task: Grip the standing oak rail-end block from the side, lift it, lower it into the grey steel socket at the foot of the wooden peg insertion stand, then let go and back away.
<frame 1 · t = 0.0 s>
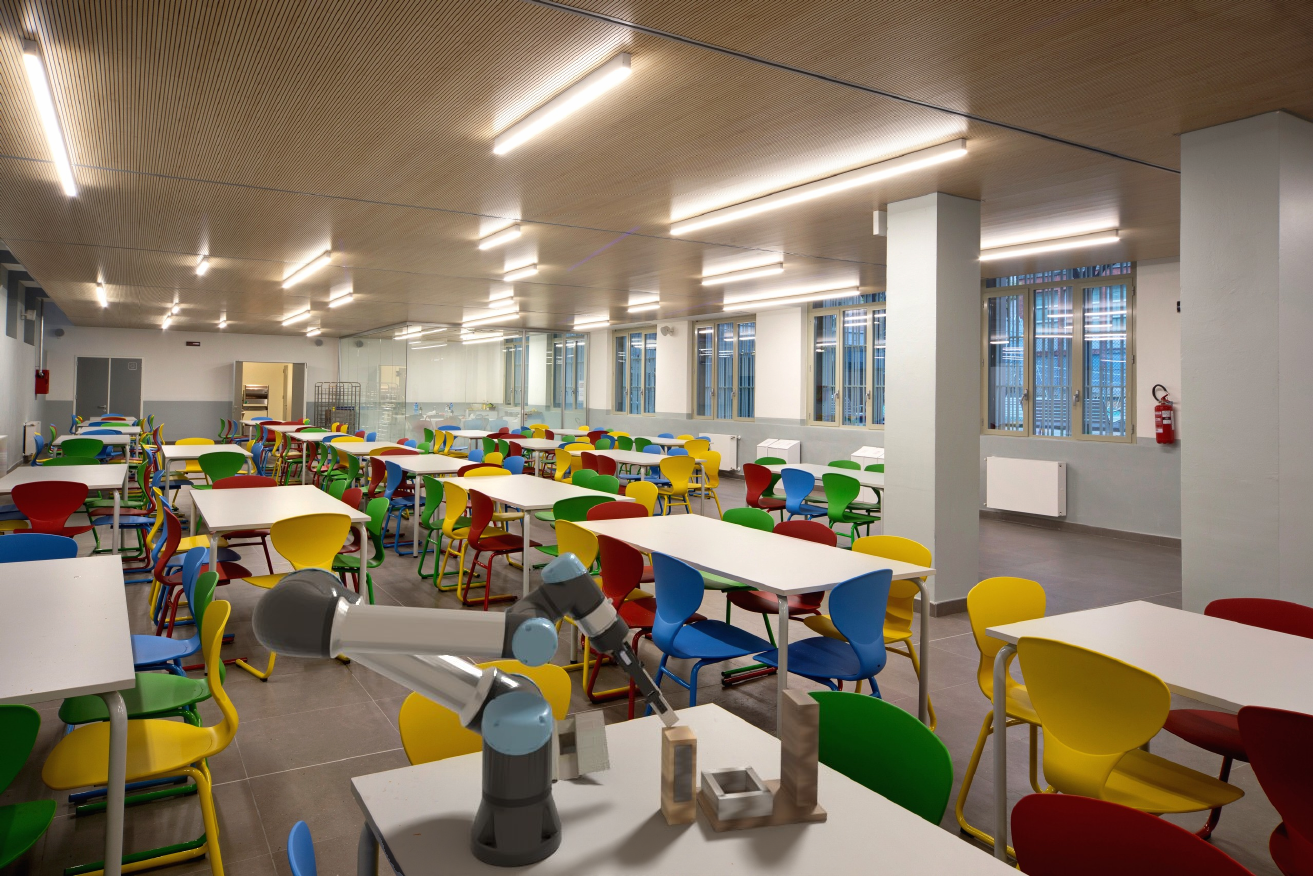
hand: (664, 710, 148), 15 cm above the table, tool tilted 35°, fingers open, 13 cm apart
wall: (569, 768, 156), on the table
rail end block: (677, 814, 138), on the table
wooden peg insertion stand: (735, 808, 140), on the table
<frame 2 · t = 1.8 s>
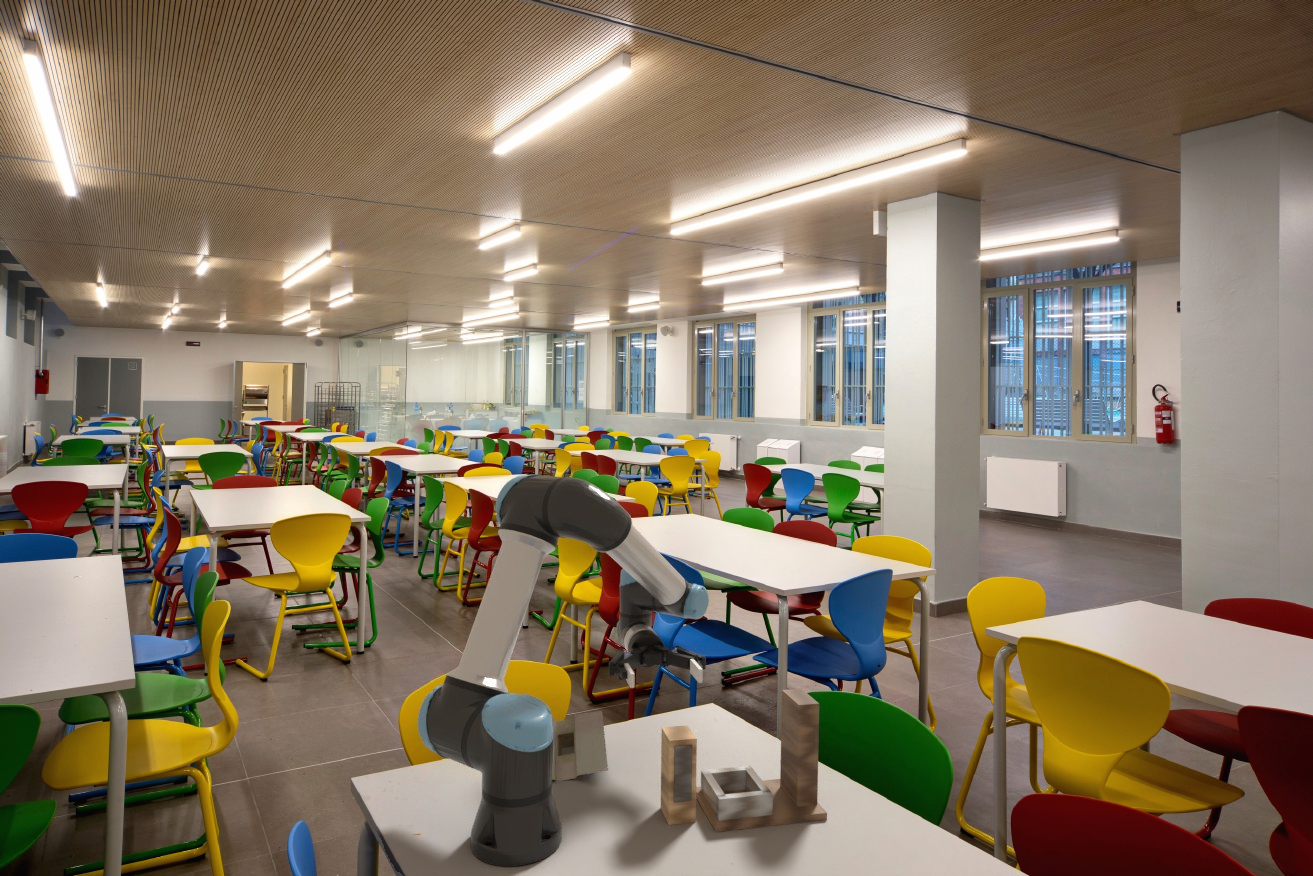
hand: (667, 678, 147), 22 cm above the table, tool horizontal, fingers open, 13 cm apart
nothing on the table moved.
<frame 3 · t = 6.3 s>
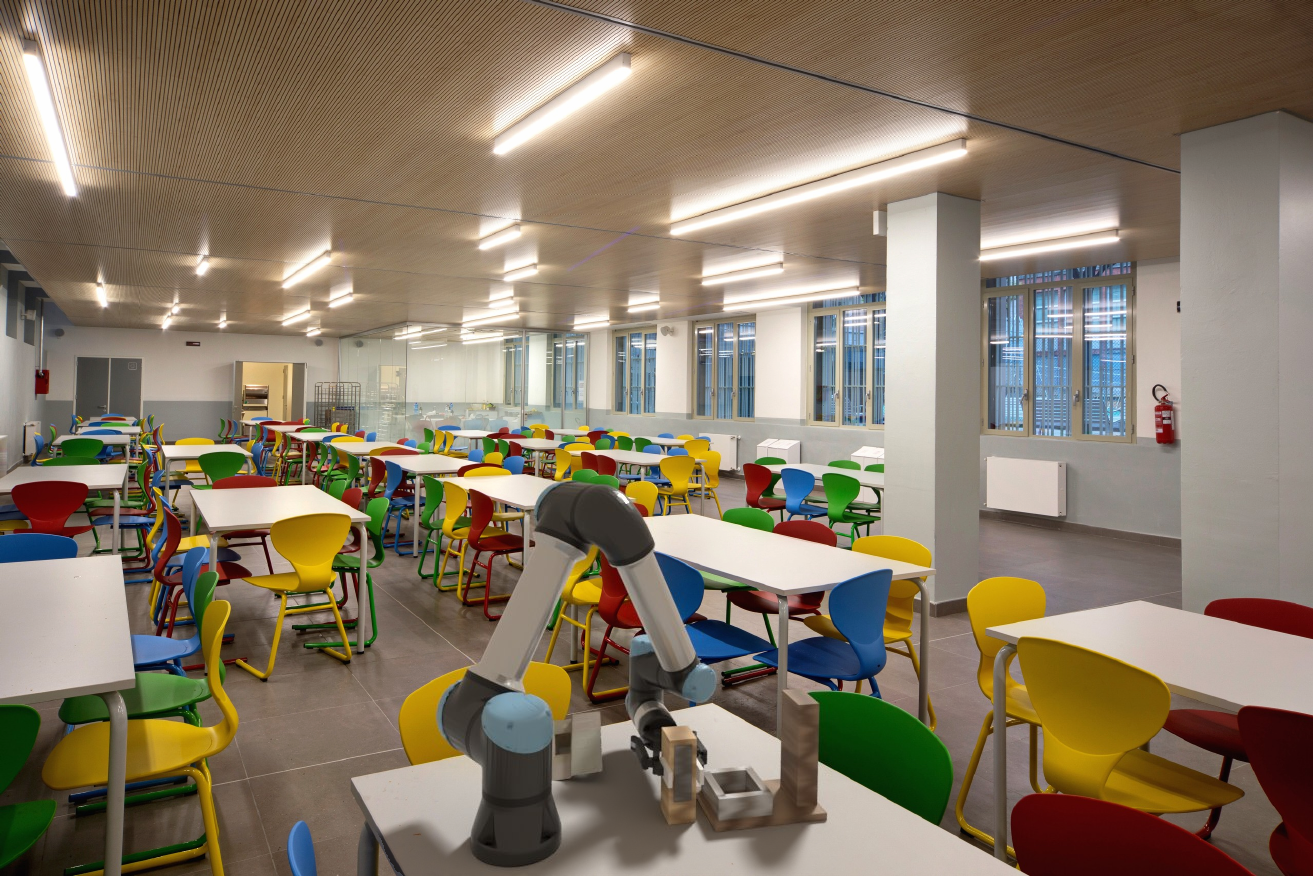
hand: (686, 778, 133), 9 cm above the table, tool horizontal, fingers closed on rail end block, 5 cm apart
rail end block: (677, 814, 138), on the table, touching gripper
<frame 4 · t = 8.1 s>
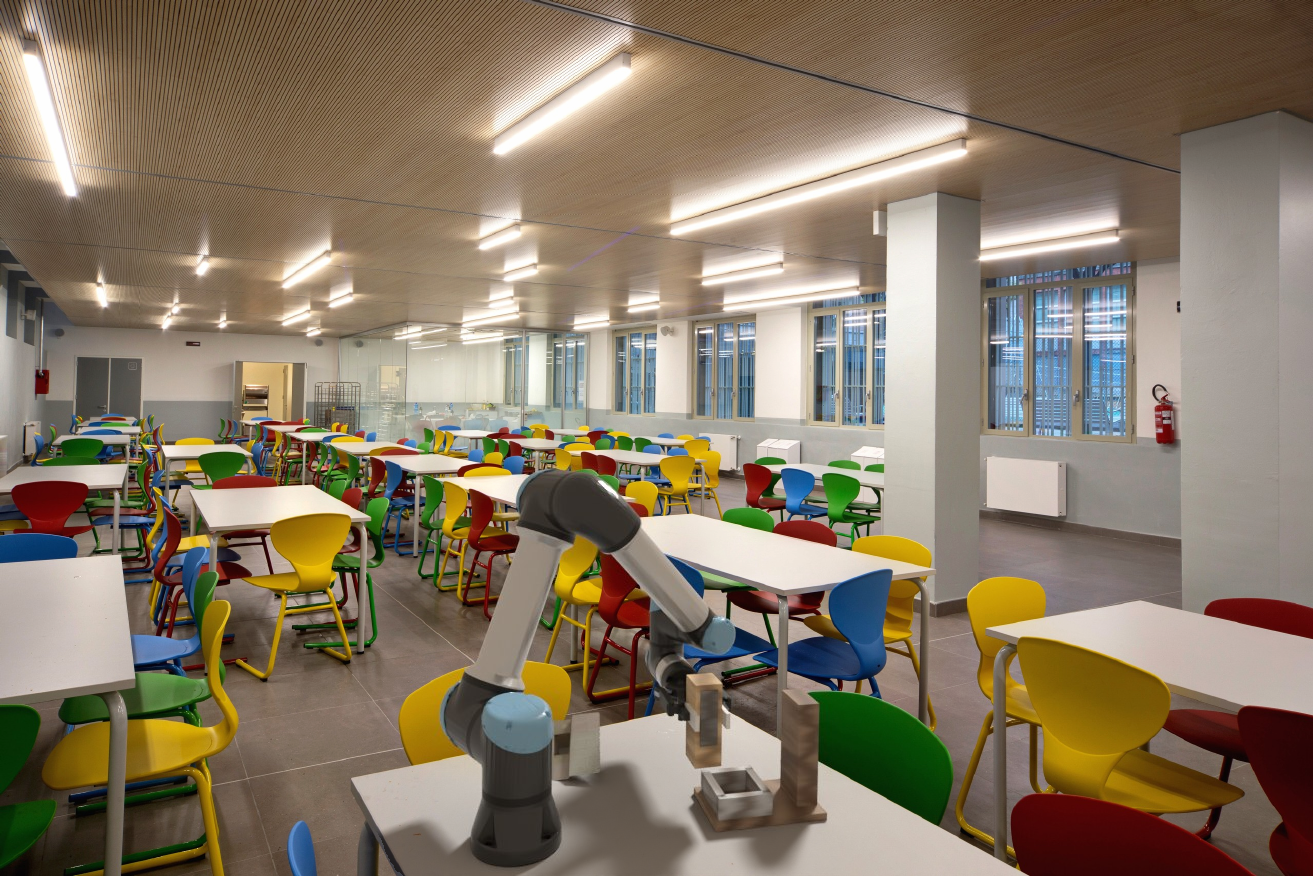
hand: (712, 722, 134), 18 cm above the table, tool horizontal, fingers closed on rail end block, 5 cm apart
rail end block: (703, 760, 139), point 9 cm above the table, touching gripper
when the fingers open (12 cm above the table, at t = 10.3 s): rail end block drops 1 cm, resting on wooden peg insertion stand.
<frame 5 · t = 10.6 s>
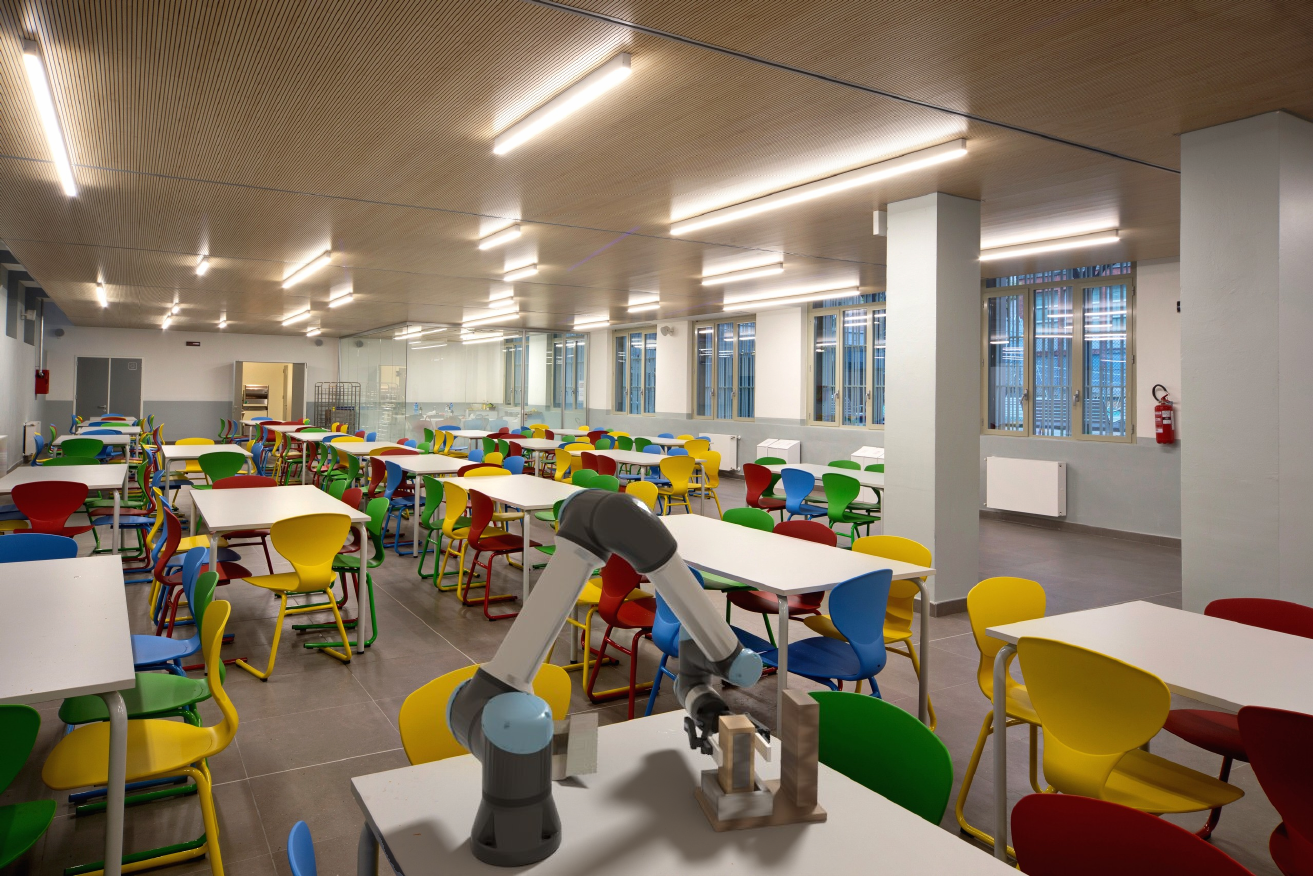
hand: (744, 756, 136), 12 cm above the table, tool horizontal, fingers open, 8 cm apart
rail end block: (735, 802, 140), point 1 cm above the table, touching wooden peg insertion stand
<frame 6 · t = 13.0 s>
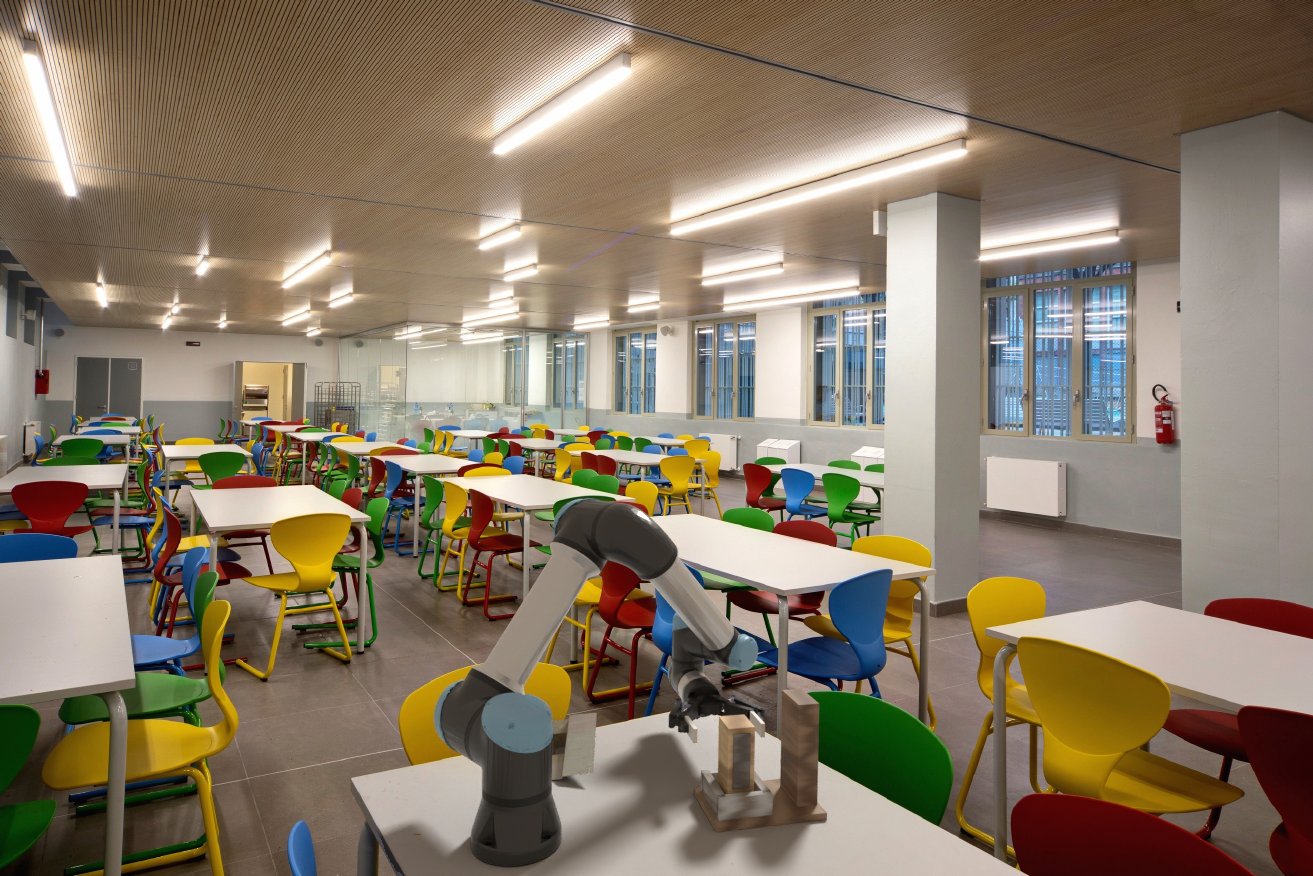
hand: (729, 733, 145), 12 cm above the table, tool horizontal, fingers open, 13 cm apart
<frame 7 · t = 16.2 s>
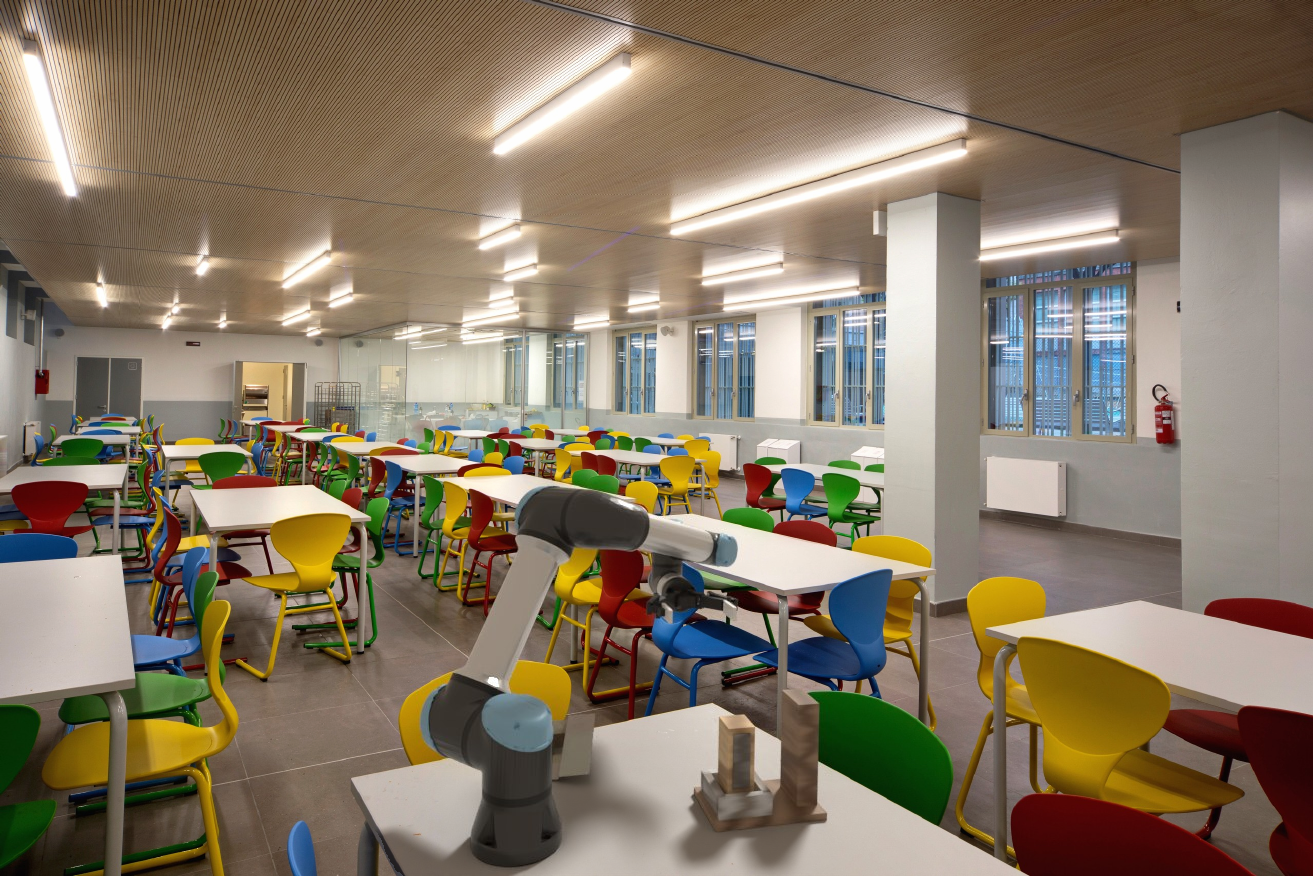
hand: (703, 615, 155), 32 cm above the table, tool horizontal, fingers open, 13 cm apart
at the end: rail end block 0.0 cm off-centre on the wooden peg insertion stand, point 1.2 cm above the wooden peg insertion stand's base; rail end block tilted 0°; the gripper is holding nothing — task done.
